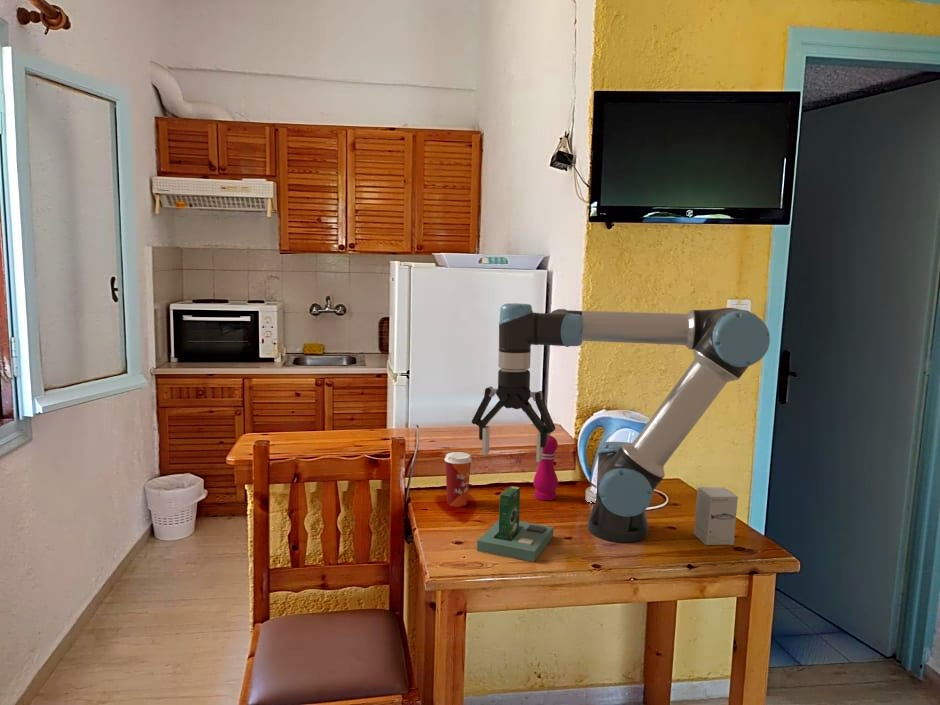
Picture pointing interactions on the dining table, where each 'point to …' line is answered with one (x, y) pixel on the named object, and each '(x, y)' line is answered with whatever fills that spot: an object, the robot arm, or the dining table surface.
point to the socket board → (517, 541)
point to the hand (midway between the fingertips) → (512, 457)
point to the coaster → (590, 495)
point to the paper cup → (457, 478)
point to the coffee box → (509, 513)
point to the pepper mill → (546, 472)
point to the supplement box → (715, 515)
